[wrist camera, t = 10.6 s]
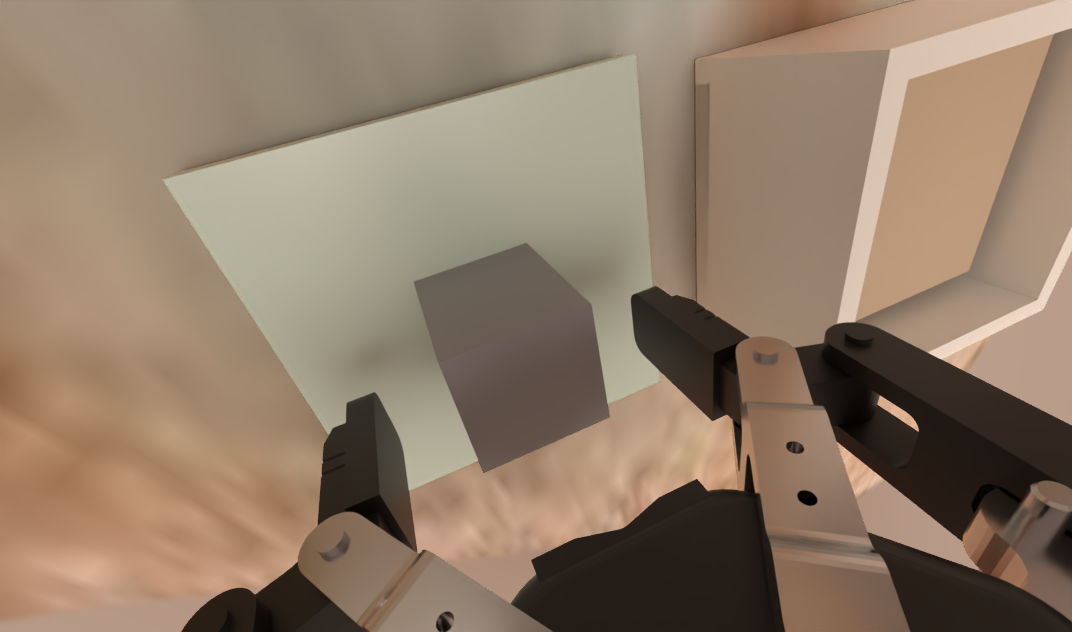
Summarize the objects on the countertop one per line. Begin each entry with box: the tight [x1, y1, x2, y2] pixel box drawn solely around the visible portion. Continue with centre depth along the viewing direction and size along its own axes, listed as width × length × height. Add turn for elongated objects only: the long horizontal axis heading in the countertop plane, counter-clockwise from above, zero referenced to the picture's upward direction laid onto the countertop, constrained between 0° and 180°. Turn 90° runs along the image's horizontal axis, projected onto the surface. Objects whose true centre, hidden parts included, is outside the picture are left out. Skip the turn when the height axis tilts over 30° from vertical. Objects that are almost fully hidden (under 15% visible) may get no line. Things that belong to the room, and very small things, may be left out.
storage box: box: [695, 0, 1072, 359], centre depth 17 cm, size 12×12×7 cm
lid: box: [163, 54, 660, 491], centre depth 15 cm, size 14×14×7 cm
